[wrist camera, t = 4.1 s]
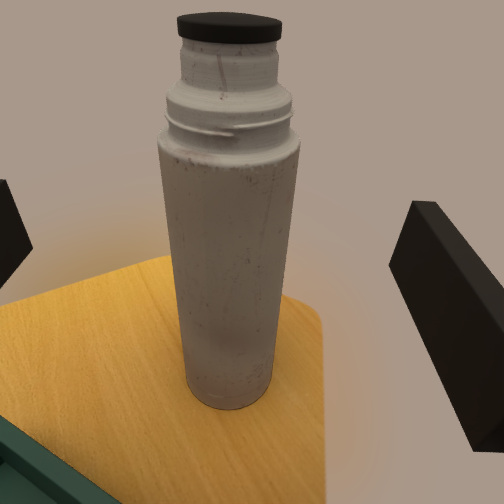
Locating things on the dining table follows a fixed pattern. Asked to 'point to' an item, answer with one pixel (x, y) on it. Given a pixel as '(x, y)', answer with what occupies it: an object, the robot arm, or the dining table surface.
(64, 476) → the box
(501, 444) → the robot arm
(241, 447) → the dining table surface
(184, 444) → the dining table surface
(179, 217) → the thermos bottle
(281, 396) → the dining table surface
